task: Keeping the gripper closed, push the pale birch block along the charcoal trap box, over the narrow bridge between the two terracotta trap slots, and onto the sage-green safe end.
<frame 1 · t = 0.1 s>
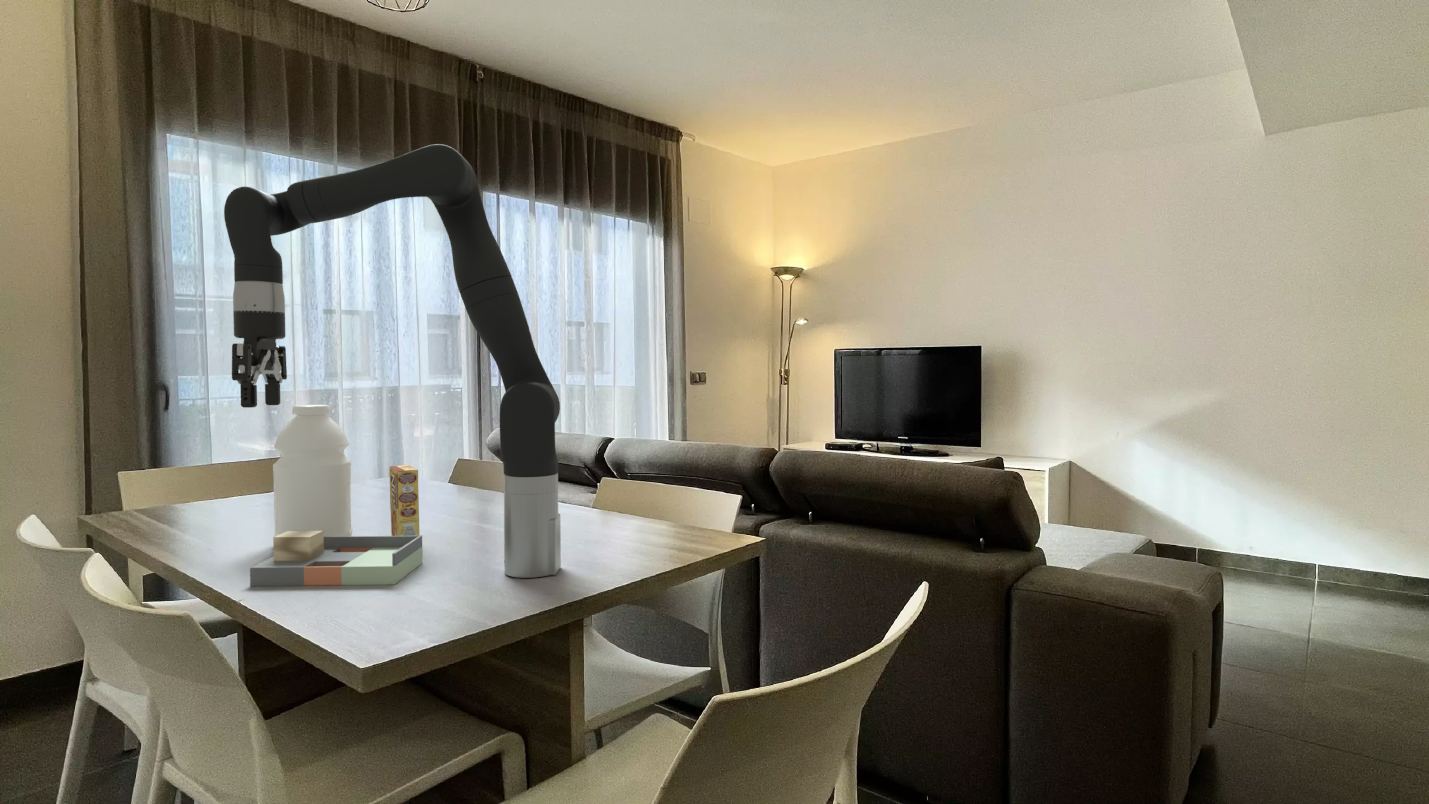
hand: (261, 406, 130), 29 cm above the table, tool pointing down, fingers open, 8 cm apart
birch block: (299, 556, 132), point 3 cm above the table, touching trap box
trap box: (341, 573, 132), on the table
candy box: (404, 543, 156), on the table
bottle: (314, 544, 155), on the table
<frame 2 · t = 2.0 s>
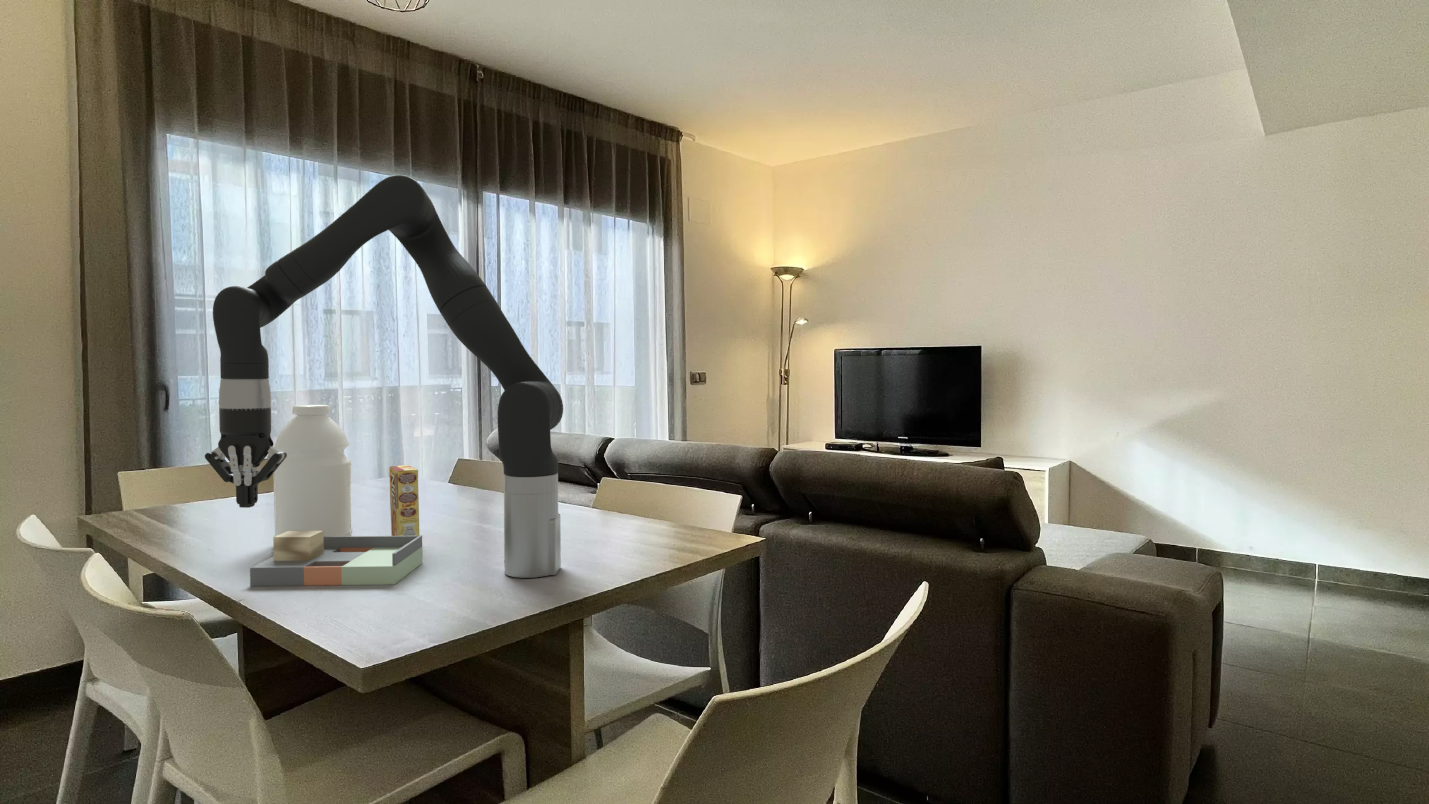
hand: (246, 506, 131), 12 cm above the table, tool pointing down, fingers closed
nothing on the table moved.
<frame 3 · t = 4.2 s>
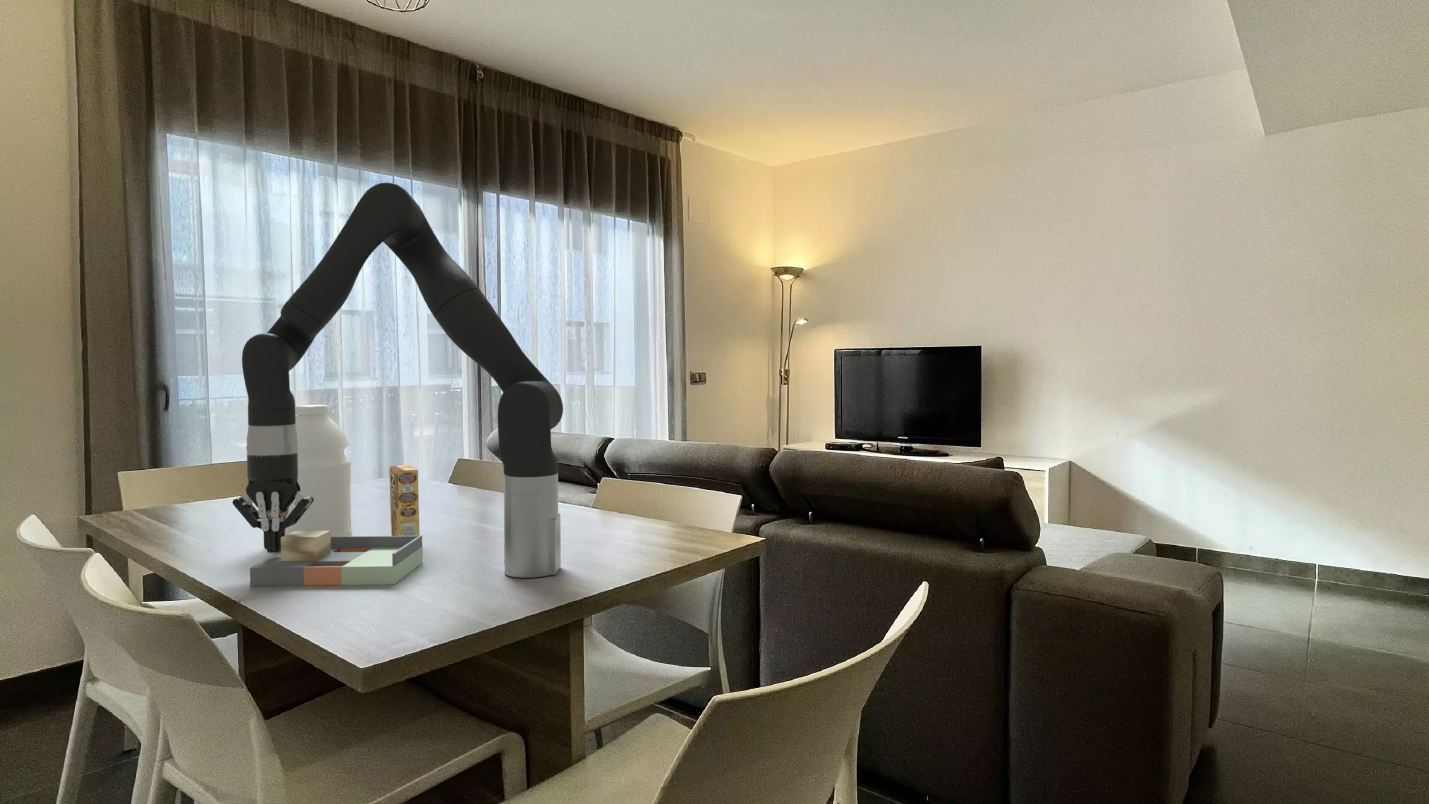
hand: (274, 551, 131), 4 cm above the table, tool pointing down, fingers closed
birch block: (306, 556, 132), point 3 cm above the table, touching gripper
everything else where it was.
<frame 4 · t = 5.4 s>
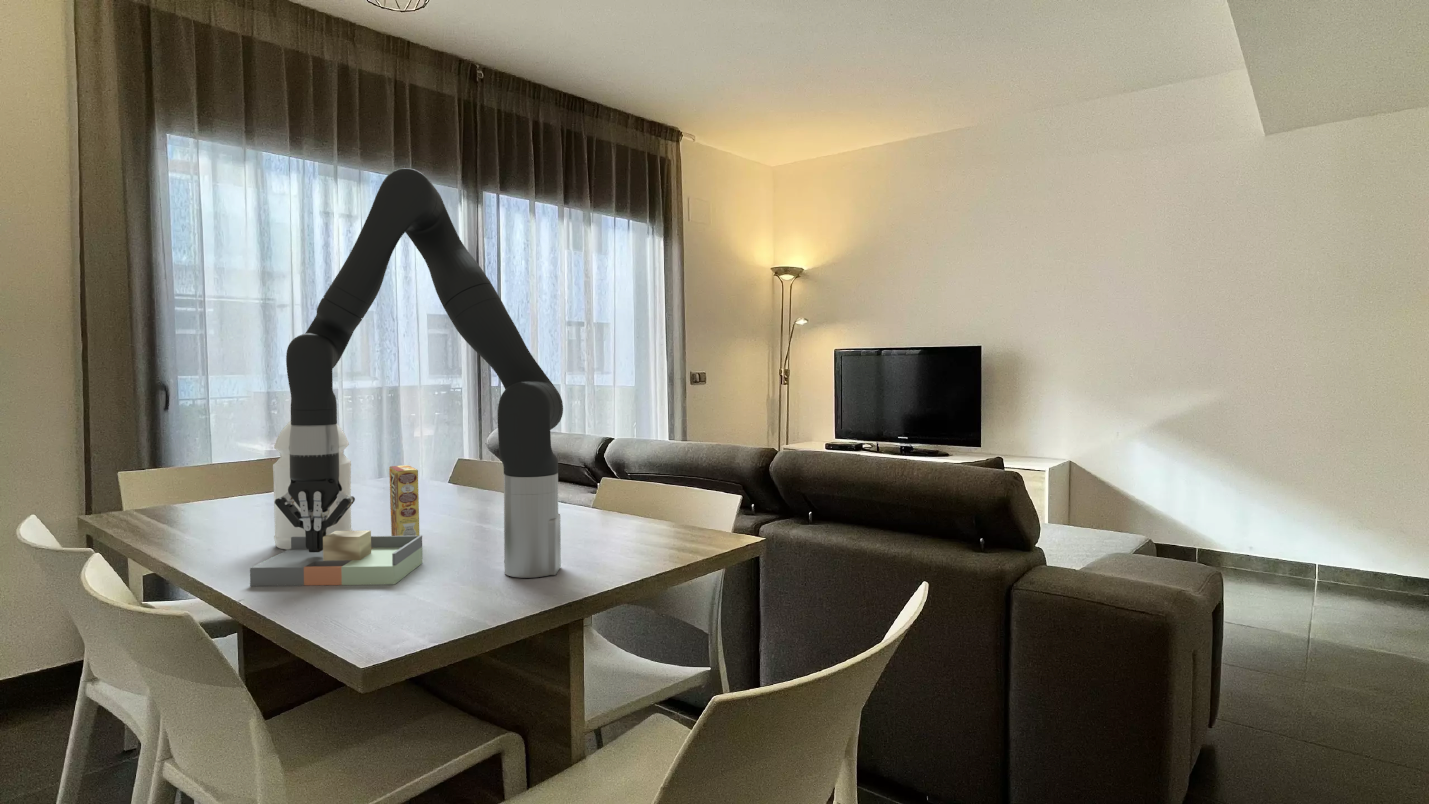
hand: (315, 551, 132), 4 cm above the table, tool pointing down, fingers closed
birch block: (347, 556, 132), point 3 cm above the table, touching trap box
everything else where it was.
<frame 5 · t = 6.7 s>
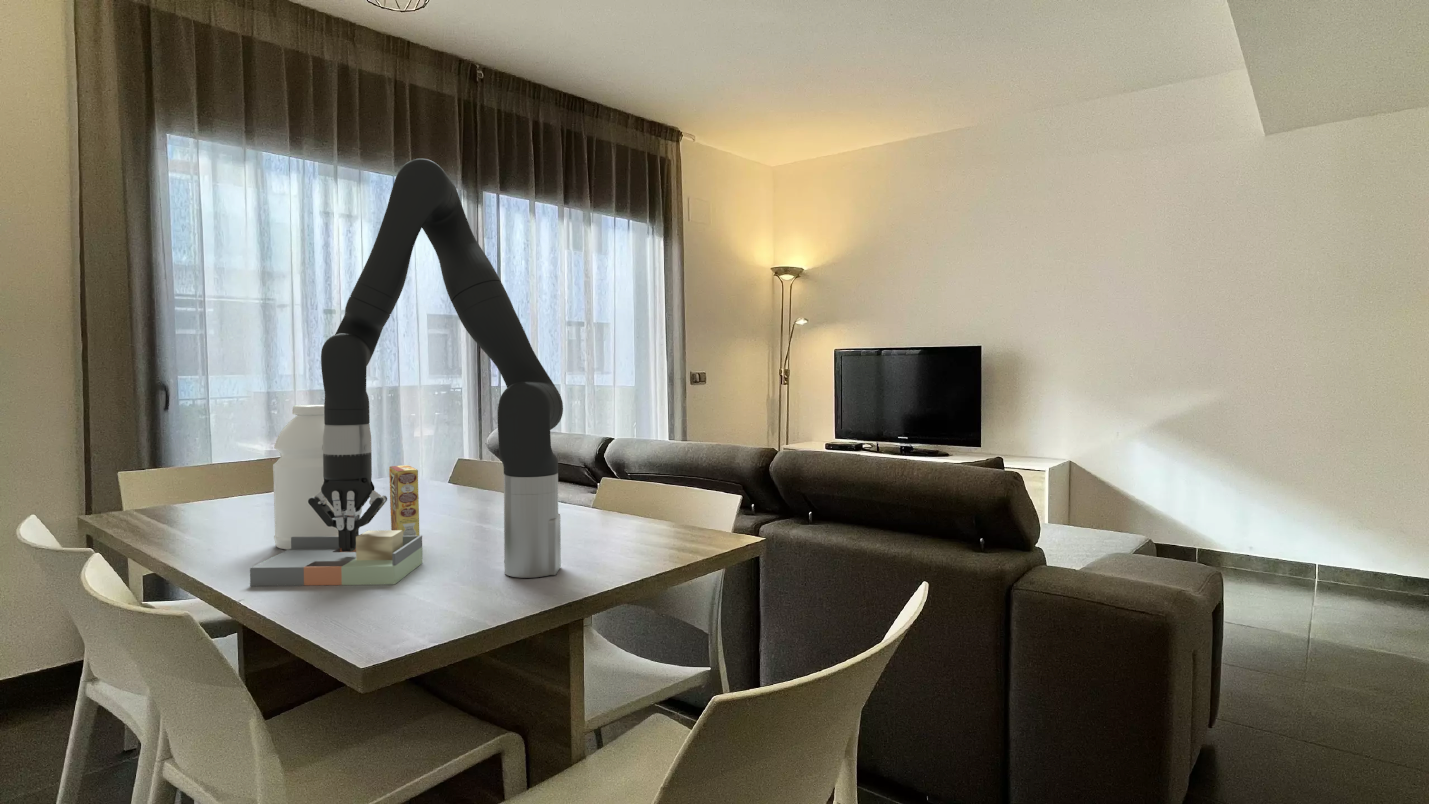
hand: (348, 550, 132), 4 cm above the table, tool pointing down, fingers closed
birch block: (380, 556, 132), point 3 cm above the table
everything else where it was.
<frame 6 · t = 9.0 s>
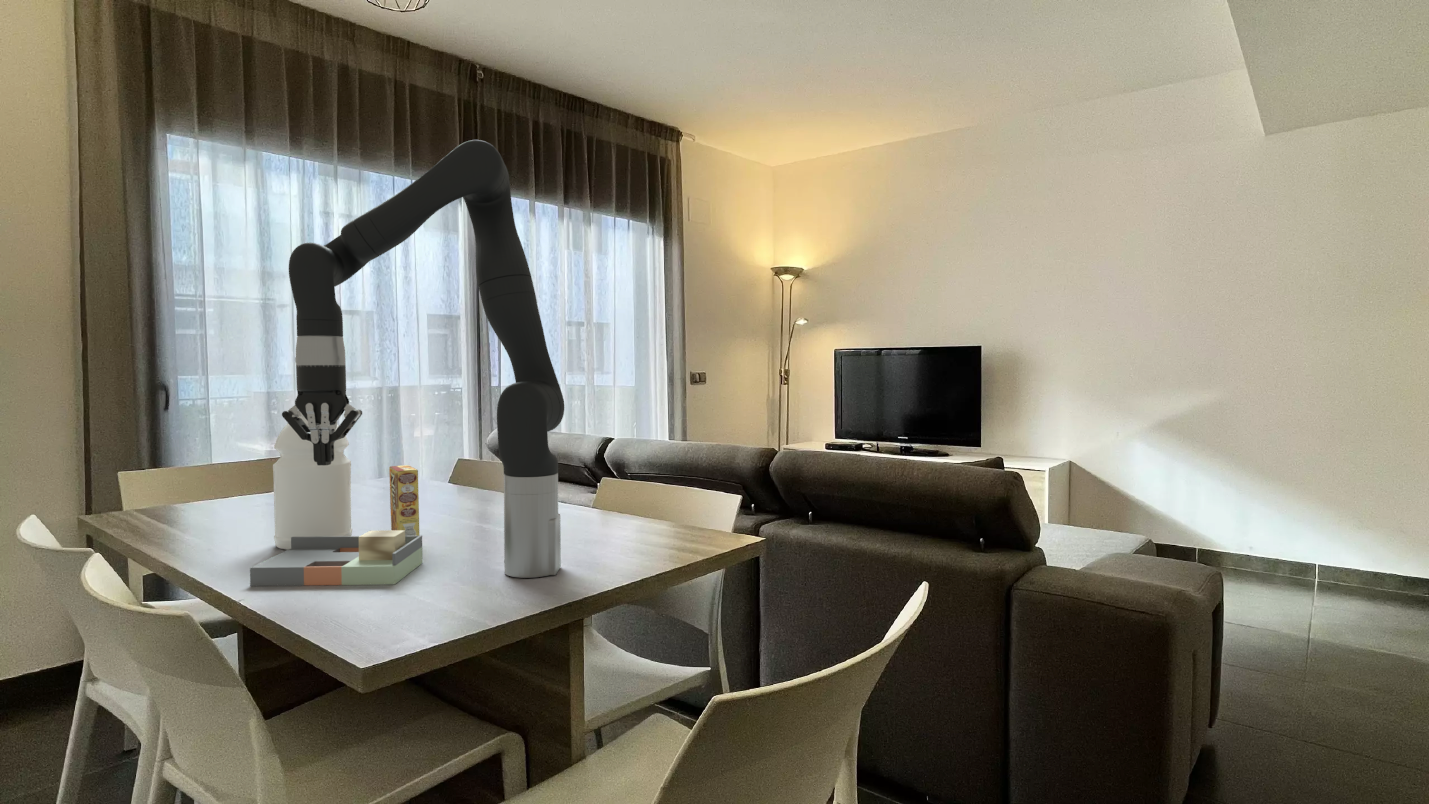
hand: (324, 464, 131), 19 cm above the table, tool pointing down, fingers closed
birch block: (382, 556, 132), point 3 cm above the table, touching trap box
everything else where it was.
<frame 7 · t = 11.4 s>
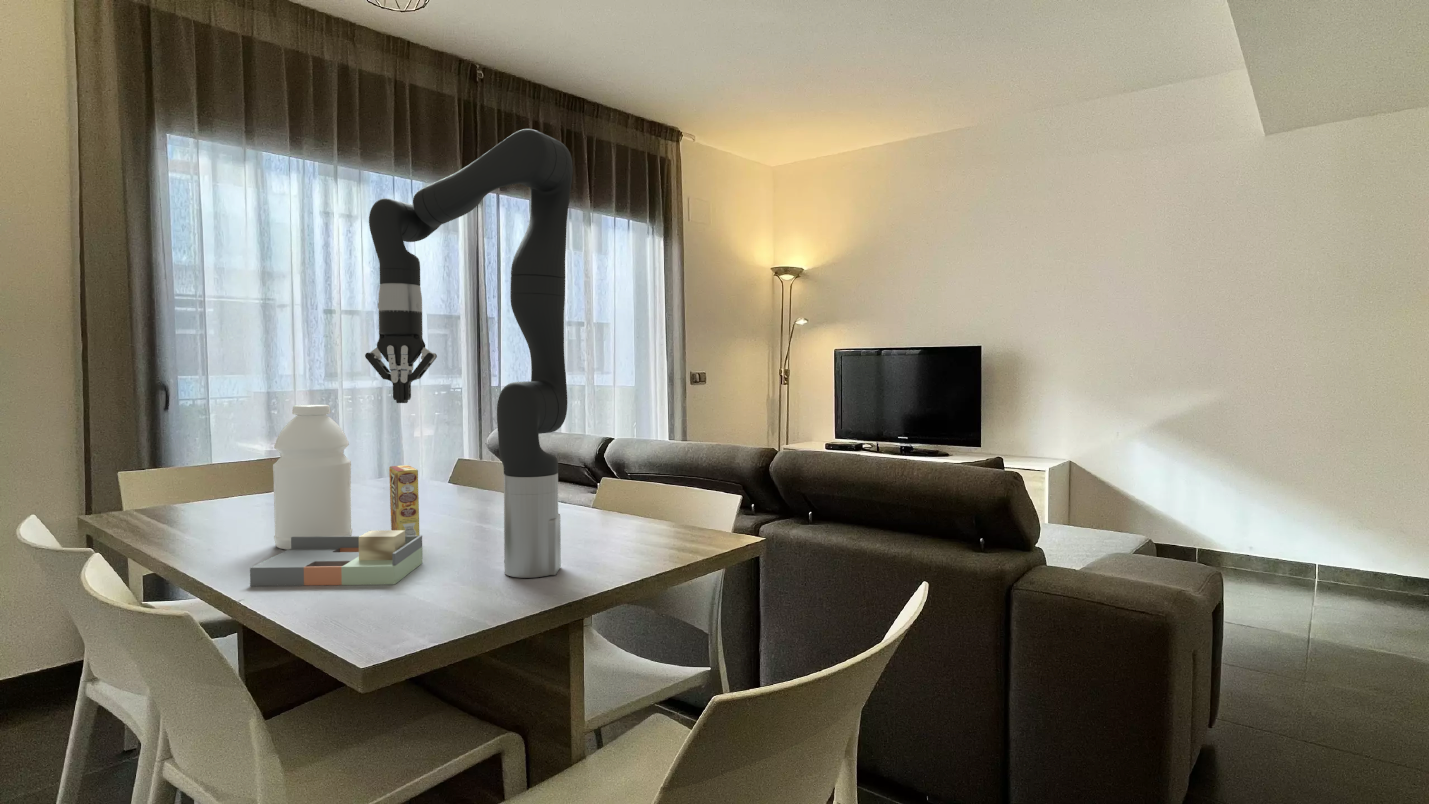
hand: (401, 402, 143), 29 cm above the table, tool pointing down, fingers closed
nothing on the table moved.
at the end: birch block 0.3 cm from the target spot on the trap box, point 3.0 cm above the trap box's base; birch block tilted 0° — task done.
